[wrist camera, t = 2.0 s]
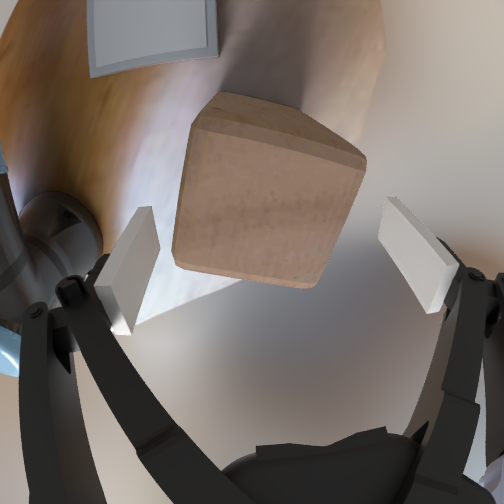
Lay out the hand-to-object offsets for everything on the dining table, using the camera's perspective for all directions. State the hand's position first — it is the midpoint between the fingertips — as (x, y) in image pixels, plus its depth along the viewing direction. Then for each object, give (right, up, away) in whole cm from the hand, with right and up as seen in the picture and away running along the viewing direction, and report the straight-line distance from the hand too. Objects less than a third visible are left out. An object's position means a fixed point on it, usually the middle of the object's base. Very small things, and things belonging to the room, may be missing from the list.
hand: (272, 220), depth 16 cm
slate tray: (-12, +25, +7) cm, 28 cm away
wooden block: (-1, +11, +17) cm, 21 cm away
